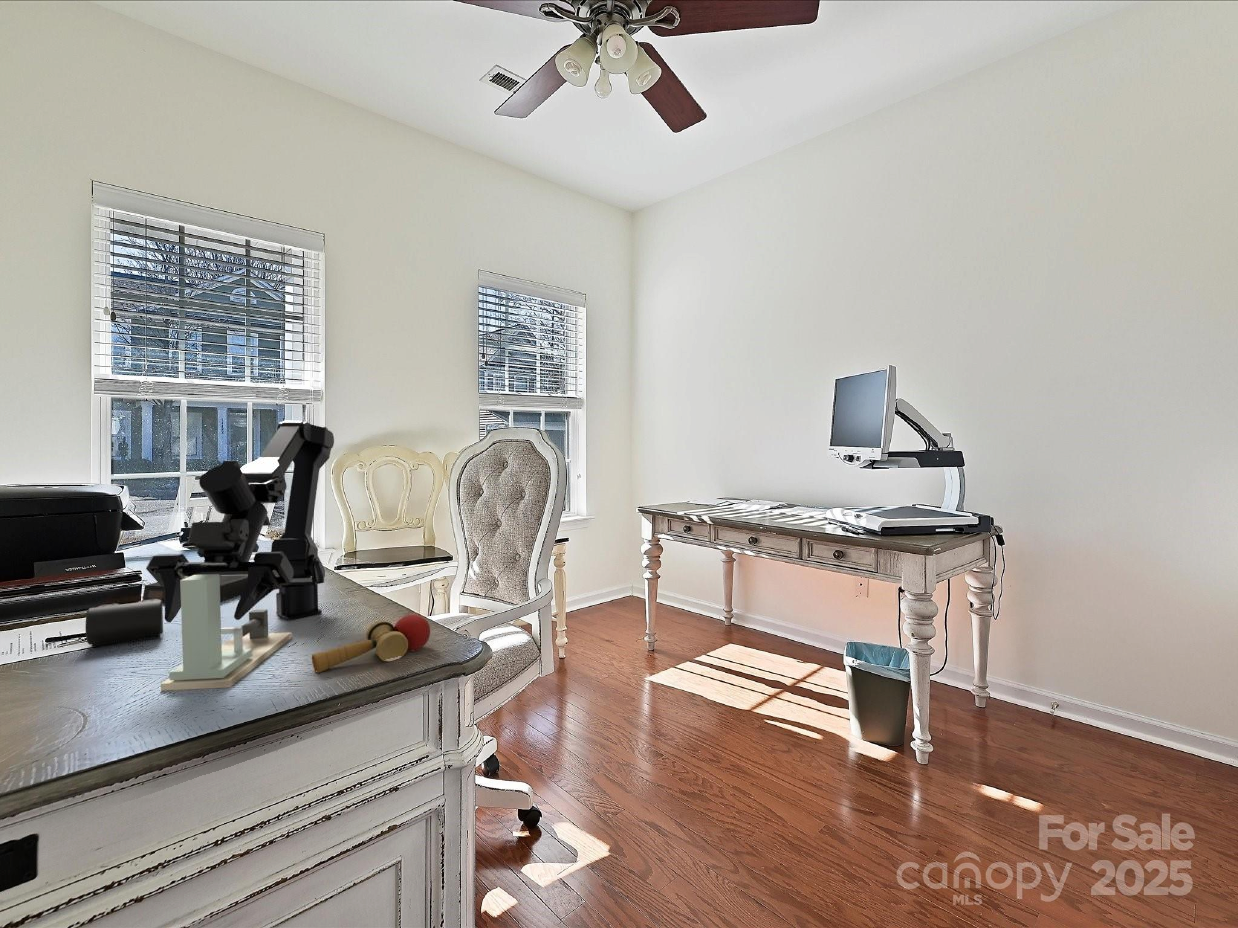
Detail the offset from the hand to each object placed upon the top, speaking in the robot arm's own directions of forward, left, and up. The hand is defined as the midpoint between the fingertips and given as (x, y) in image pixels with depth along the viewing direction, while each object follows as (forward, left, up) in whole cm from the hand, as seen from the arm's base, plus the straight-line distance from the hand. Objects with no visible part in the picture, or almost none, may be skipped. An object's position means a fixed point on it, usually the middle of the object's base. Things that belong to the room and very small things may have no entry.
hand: (202, 619), depth 86 cm
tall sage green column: (-2, -2, -8) cm, 8 cm away
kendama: (-21, +10, -10) cm, 25 cm away
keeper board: (-6, -7, -9) cm, 13 cm away
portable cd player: (-16, -57, -10) cm, 60 cm away
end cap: (+3, -31, -10) cm, 33 cm away
